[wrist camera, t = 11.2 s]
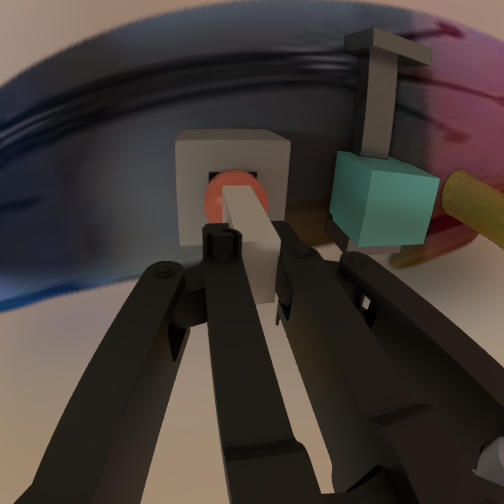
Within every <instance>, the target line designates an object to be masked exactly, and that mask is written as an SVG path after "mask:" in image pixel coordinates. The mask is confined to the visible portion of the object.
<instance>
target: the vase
mask: <svg viewBox="0 0 504 504" xmlns="http://www.w3.org/2000/svg"><path fill="white" fill-rule="evenodd" d="M442 206H443V209H444V211H445V212H446V214H448V215H449V216H452V217H454V218H456V219H457V220H459V221H461V222H462V223H464V224H465V225H467V226H469V227H470V228H472V229H474V230H475V231H477V232H478V233H480V234H481V235H483V236H484V237H486V238H488V239H489V240H491V241H493V242H494V243H495V244H497V245H498V246H499V247H500V248H502V249H503V250H504V194H503V193H501V192H499V191H498V190H496V189H494V188H492V187H491V186H489V185H487V184H486V183H484V182H482V181H480V180H479V179H477V178H475V177H473V176H472V175H470V174H469V173H468V172H466V171H464V170H458V171H455V172H454V173H452V174H451V175H450V176H449V178H448V179H447V181H446V183H445V185H444V188H443V191H442Z"/></svg>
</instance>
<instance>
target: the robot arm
mask: <svg viewBox="0 0 504 504" xmlns="http://www.w3.org/2000/svg"><path fill="white" fill-rule="evenodd" d="M202 243H203V260H202V261H201V262H200V263H199V264H198V265H196V266H194V267H192V268H189V269H185V270H184V268H183V266H182V265H181V264H179V263H177V262H173V261H161V262H156V263H154V264H152V265H150V266H149V267H148V268H147V269H146V270H145V271H144V273H143V275H142V276H141V278H140V279H139V281H138V282H137V284H136V286H135V287H134V289H133V290H132V292H131V293H130V295H129V297H128V298H127V300H126V301H125V303H124V305H123V306H122V308H121V310H120V311H119V313H118V314H117V316H116V318H115V319H114V321H113V323H112V324H111V326H110V328H109V329H108V331H107V333H106V334H105V336H104V338H103V340H102V341H101V343H100V345H99V346H98V348H97V350H96V352H95V354H94V355H93V357H92V359H91V361H90V362H89V364H88V366H87V368H86V370H85V372H84V373H83V375H82V377H81V379H80V381H79V383H78V385H77V387H76V389H75V391H74V392H73V394H72V396H71V398H70V400H69V402H68V404H67V407H66V408H65V410H64V412H63V415H62V416H61V418H60V421H59V423H58V425H57V427H56V429H55V431H54V433H53V436H52V438H51V440H50V442H49V444H48V447H47V449H46V451H45V453H44V456H43V458H42V461H41V463H40V465H39V468H38V470H37V473H36V475H35V477H34V480H33V483H32V484H31V486H30V487H29V488H28V489H27V490H26V491H25V492H24V493H23V494H22V495H21V496H20V497H19V498H18V499H17V500H16V501H15V502H14V504H140V502H141V499H142V495H143V491H144V487H145V483H146V479H147V476H148V472H149V468H150V464H151V461H152V457H153V454H154V450H155V446H156V443H157V439H158V436H159V432H160V429H161V425H162V422H163V419H164V415H165V412H166V408H167V405H168V402H169V398H170V395H171V391H172V388H173V385H174V382H175V379H176V375H177V372H178V369H179V366H180V362H181V359H182V356H183V353H184V350H185V347H186V344H187V340H188V337H189V334H190V327H193V326H196V325H199V324H203V323H206V322H207V326H208V337H209V348H210V358H211V369H212V378H213V386H214V395H215V405H216V412H217V421H218V429H219V436H220V443H221V450H222V457H223V464H224V470H225V477H226V483H227V490H228V496H229V502H230V504H504V368H503V367H502V366H501V365H500V364H499V363H498V362H497V361H496V360H495V359H493V357H491V356H490V355H489V354H488V353H487V352H486V351H485V350H484V349H483V348H482V347H480V346H479V345H478V344H477V343H476V342H475V341H474V340H473V339H471V338H470V337H469V336H468V335H467V334H466V333H464V332H463V331H462V330H461V329H460V328H459V327H458V326H456V325H455V324H454V323H453V322H452V321H451V320H449V319H448V318H447V317H446V316H444V315H443V314H442V313H441V312H440V311H438V310H437V309H436V308H435V307H434V306H433V305H431V304H430V303H429V302H427V301H426V300H425V299H424V298H423V297H421V296H420V295H419V294H418V293H416V292H415V291H414V290H413V289H411V288H410V287H409V286H407V285H406V284H405V283H404V282H402V281H401V280H400V279H399V278H397V277H396V276H395V275H393V274H392V273H390V272H389V271H388V270H387V269H385V268H384V267H383V266H381V265H380V264H379V263H378V262H376V261H375V260H374V259H372V258H371V257H369V256H368V255H366V254H363V253H361V252H358V251H349V252H345V253H343V254H342V255H341V257H340V261H339V262H336V261H328V260H324V259H323V258H322V256H321V255H320V254H319V252H318V251H317V250H316V249H314V248H312V247H309V246H305V245H303V243H302V242H301V240H300V239H299V237H298V236H297V234H296V233H295V231H294V230H293V228H292V227H291V225H290V224H288V223H286V222H285V221H283V220H281V221H270V220H269V218H268V216H267V214H266V212H265V211H264V209H263V207H262V205H261V203H260V202H259V200H258V198H257V196H256V195H255V193H254V191H253V189H252V187H251V186H250V185H231V186H223V192H222V223H206V224H205V226H204V227H203V228H202ZM275 292H276V293H277V296H278V298H279V299H278V307H277V315H276V325H279V320H280V319H281V321H282V324H283V327H284V330H285V332H286V335H287V338H288V340H289V344H290V346H291V349H292V352H293V355H294V358H295V360H296V363H297V366H298V369H299V372H300V374H301V377H302V380H303V383H304V386H305V388H306V391H307V394H308V397H309V400H310V402H311V405H312V408H313V411H314V413H315V417H316V419H317V422H318V425H319V428H320V431H321V434H322V436H323V439H324V442H325V445H326V448H327V450H328V453H329V456H330V459H331V463H332V484H333V488H334V492H335V493H329V494H321V491H320V488H319V485H318V482H317V479H316V476H315V473H314V470H313V467H312V463H311V460H310V458H309V455H308V453H307V450H306V448H305V447H304V446H303V444H302V443H300V442H298V441H296V439H295V437H294V435H293V432H292V429H291V425H290V422H289V418H288V415H287V412H286V408H285V405H284V402H283V398H282V395H281V392H280V388H279V385H278V382H277V378H276V375H275V371H274V368H273V365H272V361H271V357H270V354H269V350H268V347H267V344H266V340H265V337H264V333H263V330H262V326H261V323H260V319H259V316H258V312H257V309H256V305H255V304H262V303H274V301H275ZM365 296H366V297H367V298H369V300H371V301H370V304H369V307H368V309H365V308H364V307H363V306H362V305H363V302H364V298H365ZM472 469H473V470H474V471H473V470H472Z"/></svg>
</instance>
